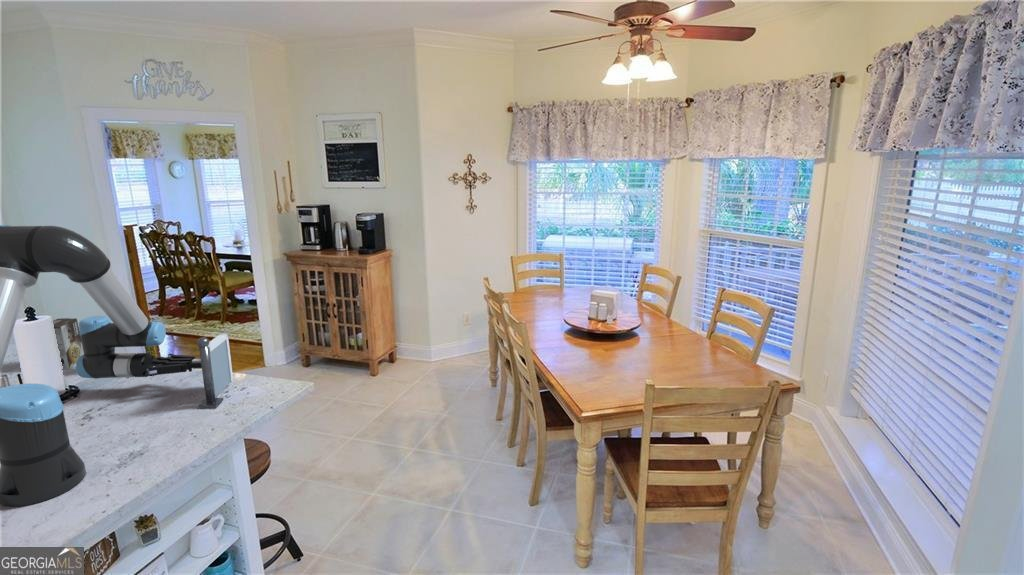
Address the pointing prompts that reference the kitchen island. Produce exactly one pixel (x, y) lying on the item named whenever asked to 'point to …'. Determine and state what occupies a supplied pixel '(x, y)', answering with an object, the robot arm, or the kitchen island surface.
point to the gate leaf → (220, 362)
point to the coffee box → (68, 341)
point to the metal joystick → (207, 376)
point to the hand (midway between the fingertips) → (214, 363)
